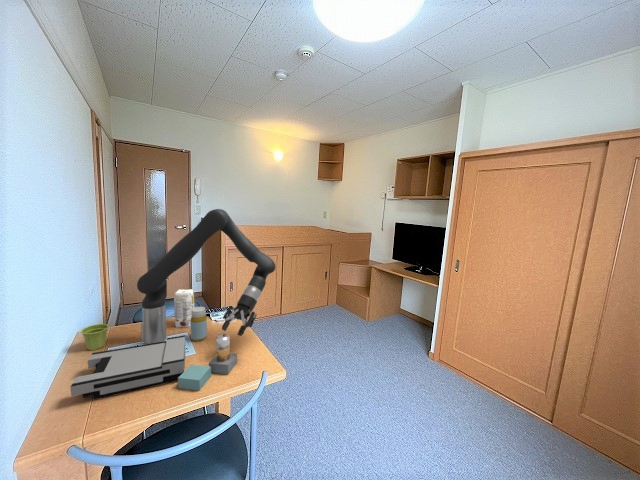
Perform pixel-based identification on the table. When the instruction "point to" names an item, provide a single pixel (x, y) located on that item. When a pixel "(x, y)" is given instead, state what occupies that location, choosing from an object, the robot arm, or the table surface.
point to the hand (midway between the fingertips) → (231, 332)
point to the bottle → (198, 324)
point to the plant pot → (95, 336)
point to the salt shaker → (223, 347)
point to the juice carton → (183, 307)
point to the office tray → (132, 368)
